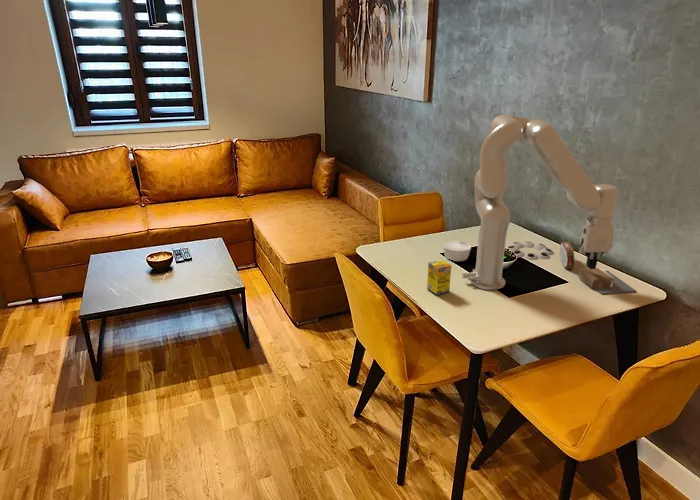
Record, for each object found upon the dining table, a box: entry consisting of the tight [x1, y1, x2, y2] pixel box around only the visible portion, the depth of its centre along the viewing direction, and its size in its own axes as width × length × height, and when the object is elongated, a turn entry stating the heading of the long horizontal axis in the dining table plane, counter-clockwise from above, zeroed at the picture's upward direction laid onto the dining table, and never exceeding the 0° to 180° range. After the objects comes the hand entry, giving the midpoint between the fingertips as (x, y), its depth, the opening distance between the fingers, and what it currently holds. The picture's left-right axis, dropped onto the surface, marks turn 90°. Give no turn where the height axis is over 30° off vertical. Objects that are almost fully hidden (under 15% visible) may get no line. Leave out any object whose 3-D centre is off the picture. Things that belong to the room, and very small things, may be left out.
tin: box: [559, 240, 575, 270], centre depth 196 cm, size 15×3×8 cm, turn 168°
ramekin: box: [442, 240, 472, 262], centre depth 205 cm, size 11×11×5 cm
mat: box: [575, 270, 637, 295], centre depth 181 cm, size 13×17×1 cm
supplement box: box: [426, 259, 452, 297], centre depth 175 cm, size 6×6×11 cm
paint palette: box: [506, 241, 555, 261], centre depth 210 cm, size 20×20×2 cm
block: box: [577, 267, 614, 289], centre depth 180 cm, size 4×9×8 cm
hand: (590, 267), depth 178 cm, fingers closed
